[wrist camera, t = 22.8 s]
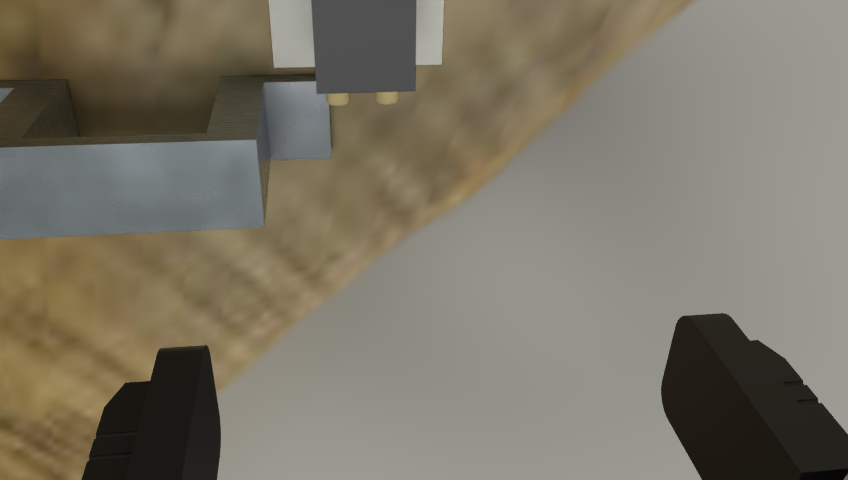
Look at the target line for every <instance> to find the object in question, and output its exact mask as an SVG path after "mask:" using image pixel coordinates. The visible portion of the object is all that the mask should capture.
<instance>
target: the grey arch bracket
mask: <svg viewBox="0 0 848 480" xmlns="http://www.w3.org/2000/svg"><path fill="white" fill-rule="evenodd" d="M325 158H331V138H330V114H329V104H327V101H326V94H317V91H316V74H309V75H260V76H221V80H220V84H219V88H218V91H217V95H216V99H215V102H214V106H213V110H212V113H211V117H210V121H209V125H208V128H207V132H206V133H195V134H162V135H128V136H95V137H80V136H79V132H78V127H77V123H76V118H75V114H74V110H73V105H72V101H71V96H70V92H69V87H68V83H67V79H66V80H17V81H0V239H22V238H43V237H65V236H87V235H109V234H131V233H153V232H175V231H197V230H219V229H241V228H263V227H265V217H266V205H267V193H268V181H269V170H270V160H296V159H325Z"/></svg>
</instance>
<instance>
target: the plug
mask: <svg viewBox="0 0 848 480" xmlns="http://www.w3.org/2000/svg"><path fill="white" fill-rule="evenodd" d="M311 5H312V22H313V40H314V57H315V74H316V91H317V94H326V101H327V104H329V105H332V106H342V105H346V104H348V103H349V93H371V92H376V102H378V103H380V104H394V103H396V102H397V101H398V92H403V91H415V84H416V0H311Z"/></svg>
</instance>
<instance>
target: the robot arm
mask: <svg viewBox="0 0 848 480" xmlns="http://www.w3.org/2000/svg"><path fill="white" fill-rule="evenodd" d="M661 396H662V403H663V408H664V411H665V414H666V416H667V418H668V420H669V422H670V424H671V425H672V427H673V429H674V431H675V433H676V434H677V436H678V438H679V440H680V441H681V443H682V445H683V447H684V449H685V450H686V452H687V454H688V456H689V457H690V459H691V461H692V463H693V464H694V466H695V468H696V470H697V471H698V473H699V475H700V477H701V478H702V480H848V434H847V433H846V432H845V431H844V429H843V428H842V427H841V426H840V425H839V424H838V422H837V421H836V420H835V419H834V417H833V416H832V415H831V414H830V413H829V412H828V410H827V409H826V408H825V407H824V405H823V404H822V403H818V398H817V397H816V396H815V395H814V393H813V392H812V391H811V390H810V389H809V387H808V386H807V385H804V384H803V380H802V379H801V378H800V376H799V375H798V374H797V373H796V371H795V370H794V369H793V368H792V367H791V365H790V364H789V363H788V362H787V361H786V359H785V358H783V357H782V356H780V355H779V354H777V353H776V352H774V351H773V350H771V349H770V348H769V347H767V346H765V345H764V344H763V343H761V342H760V341H758V340H754V341H749V339H748V338H747V337H746V336H745V334H744V333H743V332H742V331H741V329H740V328H739V327H738V325H737V324H736V323H735V322H734V320H733V319H732V318H731V317H730V316H729V315H727V314H723V313H722V314H707V315H691V316H682V317H681V318H680V319H679V320H678V322H677V324H676V327H675V331H674V335H673V339H672V343H671V347H670V351H669V355H668V360H667V364H666V368H665V372H664V376H663V380H662V386H661ZM220 446H221V428H220V415H219V409H218V402H217V395H216V389H215V383H214V376H213V370H212V363H211V357H210V352H209V348H208V346H207V345H204V346H189V347H173V348H161V349H159V351H158V353H157V357H156V361H155V365H154V369H153V373H152V377H151V381H145V382H130V383H125V384H124V385H123V386H122V387H121V389H120V390H119V391H118V392H117V393H116V394H115V396H114V397H113V398H112V399H111V400H110V401H109V402H108V404H107V405H106V406H105V407H104V410H103V413H102V416H101V420H100V423H99V426H98V429H97V432H96V439H94V442H93V445H92V448H91V451H90V455H89V461H88V462H87V464H86V467H85V471H84V474H83V477H82V480H217V474H218V466H219V458H220Z"/></svg>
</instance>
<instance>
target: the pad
mask: <svg viewBox="0 0 848 480" xmlns="http://www.w3.org/2000/svg"><path fill="white" fill-rule="evenodd" d="M269 12H270V24H271V37H272V50H273V62H274V68H288V67H315V57H314V40H313V22H312V5H311V0H269ZM443 14H444V0H416V65H442V40H443Z"/></svg>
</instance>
